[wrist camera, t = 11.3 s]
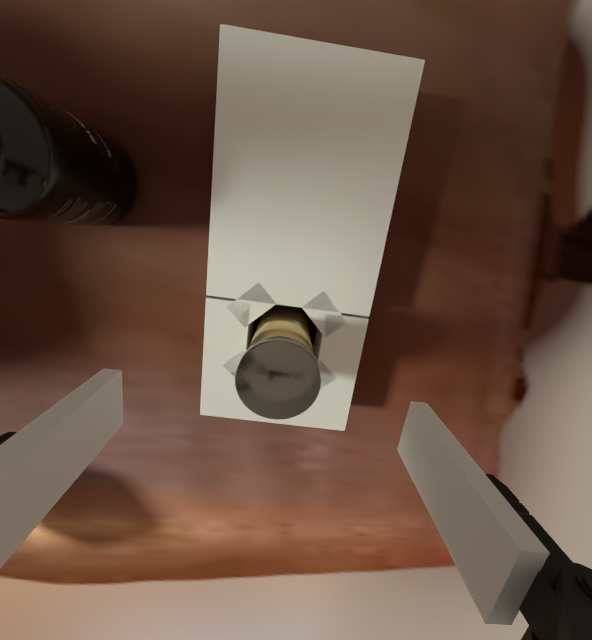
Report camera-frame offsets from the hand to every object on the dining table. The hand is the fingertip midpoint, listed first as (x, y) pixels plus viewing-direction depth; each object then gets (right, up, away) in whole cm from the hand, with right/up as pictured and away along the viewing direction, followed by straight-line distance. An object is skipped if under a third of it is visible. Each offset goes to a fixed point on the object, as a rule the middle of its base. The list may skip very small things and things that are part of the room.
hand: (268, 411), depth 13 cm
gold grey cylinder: (0, +4, +13) cm, 13 cm away
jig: (+1, +9, +11) cm, 14 cm away
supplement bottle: (-14, +15, +9) cm, 23 cm away
